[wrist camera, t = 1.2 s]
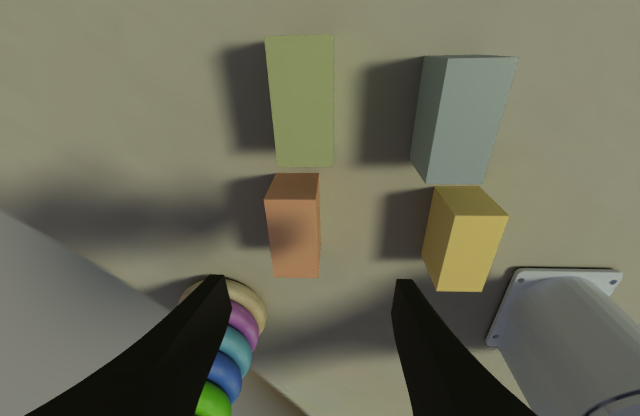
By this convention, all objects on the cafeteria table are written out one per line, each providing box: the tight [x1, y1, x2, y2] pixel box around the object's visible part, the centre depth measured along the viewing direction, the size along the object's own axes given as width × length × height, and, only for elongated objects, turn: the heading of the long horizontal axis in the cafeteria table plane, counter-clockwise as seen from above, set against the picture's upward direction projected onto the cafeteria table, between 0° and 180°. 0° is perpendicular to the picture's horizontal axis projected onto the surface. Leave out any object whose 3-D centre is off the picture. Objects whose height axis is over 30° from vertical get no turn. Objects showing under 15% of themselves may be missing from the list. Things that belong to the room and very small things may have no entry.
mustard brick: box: [421, 186, 509, 292], centre depth 19 cm, size 6×3×4 cm, turn 1°
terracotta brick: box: [264, 173, 321, 278], centre depth 19 cm, size 6×3×4 cm, turn 1°
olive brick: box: [264, 35, 334, 167], centre depth 15 cm, size 6×3×4 cm, turn 1°
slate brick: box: [409, 55, 519, 184], centre depth 15 cm, size 6×3×4 cm, turn 1°
